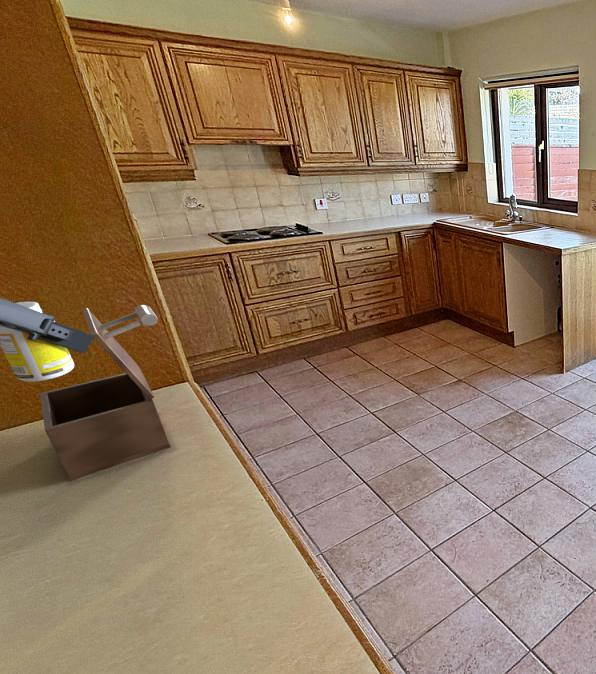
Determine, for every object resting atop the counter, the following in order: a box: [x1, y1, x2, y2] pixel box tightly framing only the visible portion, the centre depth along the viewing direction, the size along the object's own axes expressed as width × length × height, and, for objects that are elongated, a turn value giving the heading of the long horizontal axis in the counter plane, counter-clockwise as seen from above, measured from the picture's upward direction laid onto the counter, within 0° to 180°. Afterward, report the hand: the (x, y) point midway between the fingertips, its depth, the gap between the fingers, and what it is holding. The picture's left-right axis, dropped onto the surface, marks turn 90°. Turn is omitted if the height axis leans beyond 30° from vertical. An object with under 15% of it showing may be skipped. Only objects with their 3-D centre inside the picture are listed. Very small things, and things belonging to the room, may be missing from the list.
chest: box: [39, 372, 172, 482], centre depth 83 cm, size 13×16×10 cm
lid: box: [82, 304, 159, 399], centre depth 84 cm, size 14×16×8 cm
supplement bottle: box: [0, 301, 75, 382], centre depth 65 cm, size 6×6×10 cm
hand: (67, 342), depth 69 cm, fingers closed on supplement bottle, 6 cm apart
